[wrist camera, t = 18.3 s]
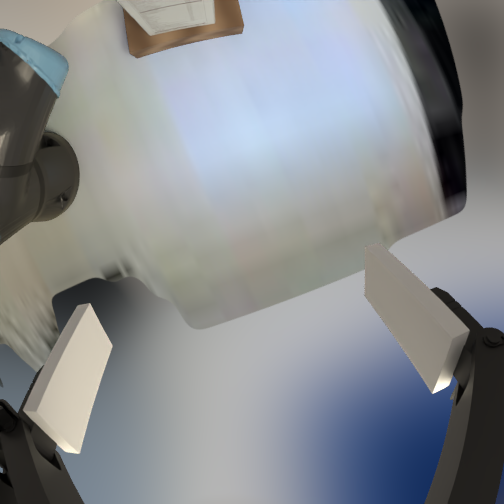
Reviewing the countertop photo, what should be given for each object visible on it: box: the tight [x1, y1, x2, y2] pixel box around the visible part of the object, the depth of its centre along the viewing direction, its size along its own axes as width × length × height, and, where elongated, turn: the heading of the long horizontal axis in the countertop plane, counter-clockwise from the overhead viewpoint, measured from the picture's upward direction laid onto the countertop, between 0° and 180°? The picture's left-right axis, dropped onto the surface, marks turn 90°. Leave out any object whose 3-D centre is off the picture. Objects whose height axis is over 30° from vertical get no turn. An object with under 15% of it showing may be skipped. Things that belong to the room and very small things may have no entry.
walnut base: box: [123, 0, 244, 58], centre depth 31 cm, size 16×12×4 cm
